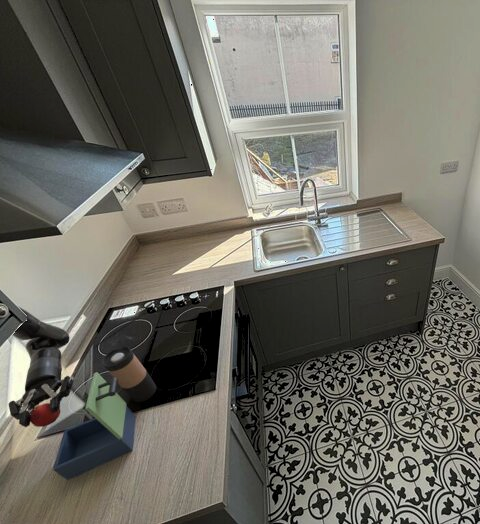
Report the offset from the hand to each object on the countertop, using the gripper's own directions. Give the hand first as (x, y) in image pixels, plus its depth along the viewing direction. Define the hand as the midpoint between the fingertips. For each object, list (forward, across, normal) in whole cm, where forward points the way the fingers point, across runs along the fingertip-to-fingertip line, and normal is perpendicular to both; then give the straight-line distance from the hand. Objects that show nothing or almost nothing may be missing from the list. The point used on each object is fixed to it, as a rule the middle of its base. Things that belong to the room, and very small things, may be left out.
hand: (39, 417), depth 79 cm
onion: (-3, 0, +6) cm, 7 cm away
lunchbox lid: (+8, +15, +1) cm, 17 cm away
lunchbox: (+6, +7, +16) cm, 19 cm away
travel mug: (-5, +20, +16) cm, 26 cm away
